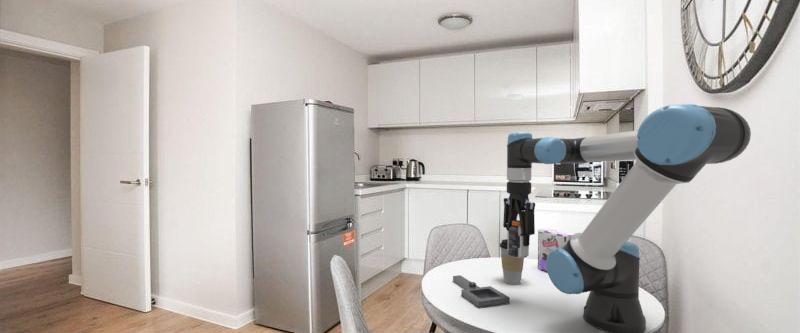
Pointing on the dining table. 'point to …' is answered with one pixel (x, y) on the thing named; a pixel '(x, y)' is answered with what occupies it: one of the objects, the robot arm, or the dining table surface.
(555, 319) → the dining table surface
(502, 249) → the coffee cup
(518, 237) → the pill bottle
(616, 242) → the robot arm
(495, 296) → the square metal pan
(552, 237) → the candy box
